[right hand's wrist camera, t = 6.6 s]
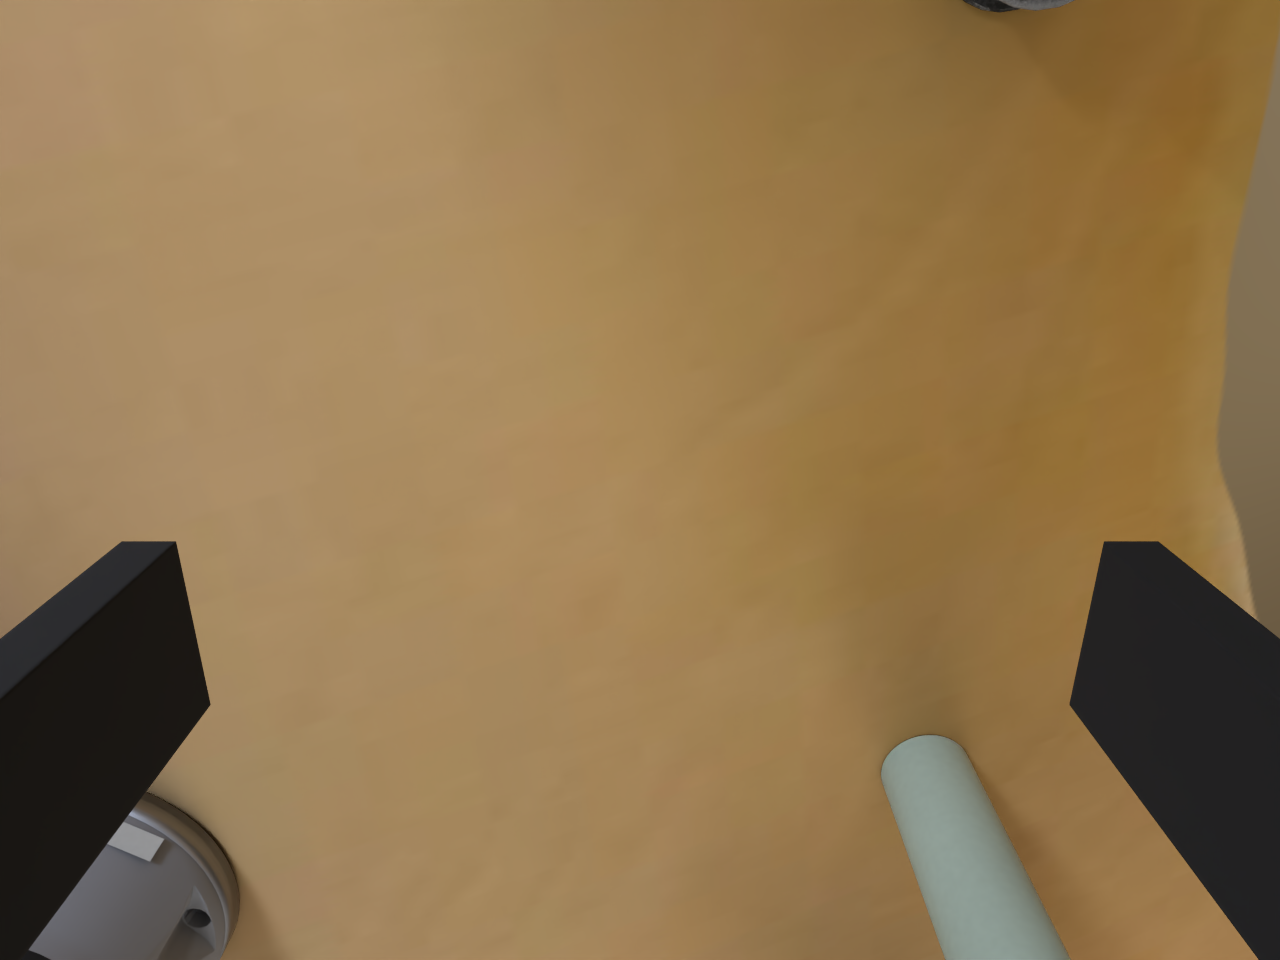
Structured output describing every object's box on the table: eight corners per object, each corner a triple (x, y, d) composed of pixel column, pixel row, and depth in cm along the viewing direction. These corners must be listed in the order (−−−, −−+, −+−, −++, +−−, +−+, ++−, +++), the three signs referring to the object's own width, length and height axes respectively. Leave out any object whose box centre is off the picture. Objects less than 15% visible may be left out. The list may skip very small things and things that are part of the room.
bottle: (888, 732, 46) (1030, 1092, 29) (977, 736, 46) (1171, 1098, 29) (874, 803, 47) (1001, 1183, 30) (960, 807, 47) (1134, 1188, 30)
